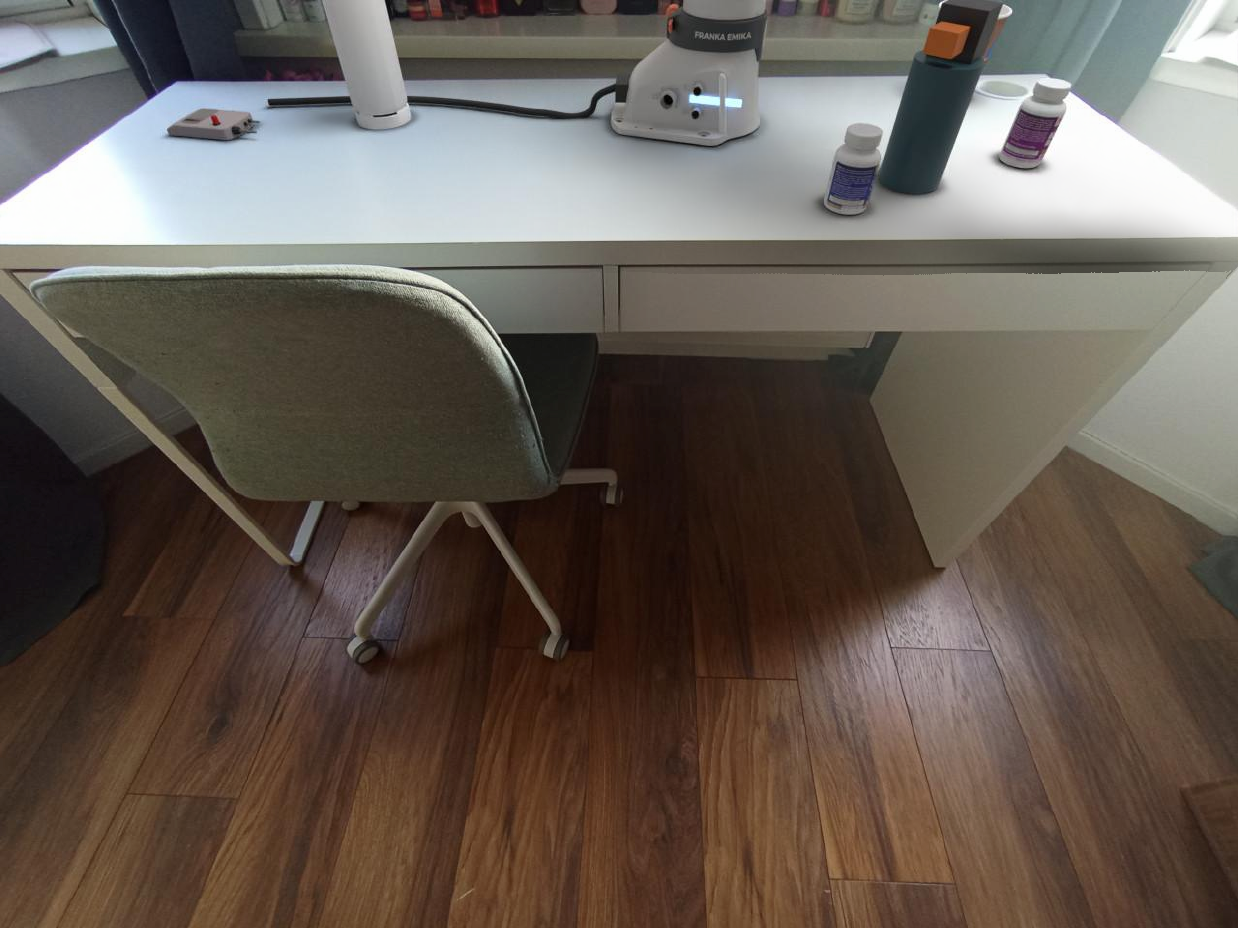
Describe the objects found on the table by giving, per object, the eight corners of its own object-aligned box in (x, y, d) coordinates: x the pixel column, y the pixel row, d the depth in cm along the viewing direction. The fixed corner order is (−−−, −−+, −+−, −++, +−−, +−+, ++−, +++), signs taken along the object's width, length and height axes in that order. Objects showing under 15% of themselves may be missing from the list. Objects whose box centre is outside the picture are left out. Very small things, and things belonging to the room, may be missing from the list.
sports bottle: (924, 200, 79) (990, 20, 65) (867, 182, 83) (919, 7, 68) (947, 179, 83) (1014, 5, 69) (892, 163, 86) (946, -7, 72)
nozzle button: (950, 59, 68) (959, 33, 66) (921, 53, 70) (929, 28, 68) (961, 52, 70) (970, 26, 68) (933, 46, 71) (941, 21, 69)
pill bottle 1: (872, 215, 77) (896, 138, 70) (830, 217, 76) (850, 140, 70) (858, 195, 80) (879, 120, 74) (817, 196, 80) (835, 121, 73)
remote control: (187, 118, 98) (177, 96, 96) (279, 125, 96) (271, 104, 93) (158, 135, 93) (147, 113, 91) (253, 143, 91) (244, 121, 89)
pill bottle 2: (1044, 171, 85) (1083, 91, 77) (1002, 168, 85) (1037, 88, 78) (1035, 154, 88) (1071, 77, 81) (994, 151, 89) (1027, 74, 82)
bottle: (346, 125, 96) (269, -127, 75) (378, 106, 101) (315, -135, 80) (390, 133, 94) (324, -124, 73) (421, 113, 99) (368, -132, 78)
